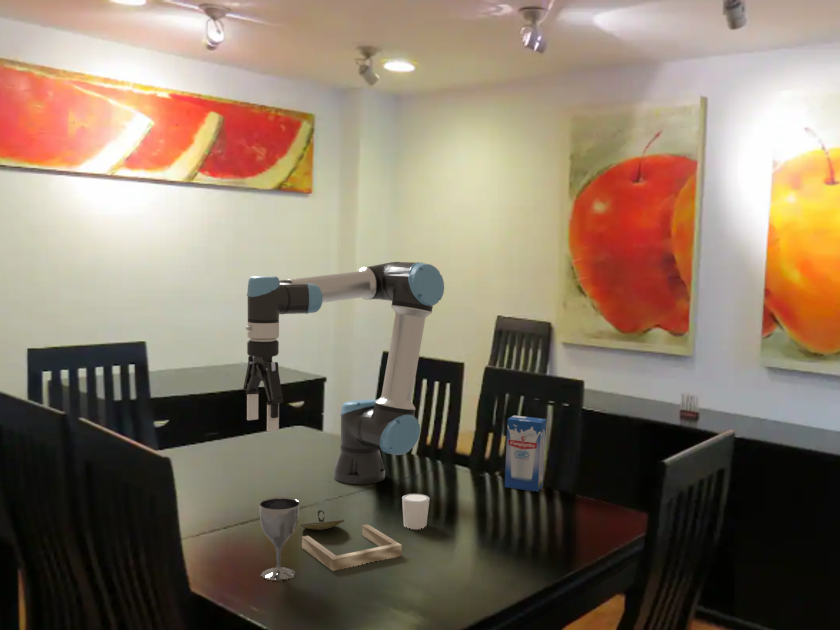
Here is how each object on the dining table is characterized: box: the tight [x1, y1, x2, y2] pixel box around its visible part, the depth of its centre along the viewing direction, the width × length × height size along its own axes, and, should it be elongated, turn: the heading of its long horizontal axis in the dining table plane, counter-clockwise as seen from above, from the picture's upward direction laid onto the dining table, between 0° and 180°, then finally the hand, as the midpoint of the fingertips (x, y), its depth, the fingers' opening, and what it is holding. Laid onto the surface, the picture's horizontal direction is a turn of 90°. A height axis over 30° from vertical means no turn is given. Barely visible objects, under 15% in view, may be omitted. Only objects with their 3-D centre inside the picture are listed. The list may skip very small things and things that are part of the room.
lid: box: [299, 509, 345, 531], centre depth 187 cm, size 11×10×5 cm
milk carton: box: [504, 415, 547, 493], centre depth 228 cm, size 10×6×20 cm, turn 68°
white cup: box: [401, 493, 431, 530], centre depth 193 cm, size 7×7×7 cm
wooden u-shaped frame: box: [301, 523, 403, 572], centre depth 175 cm, size 17×15×2 cm
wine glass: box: [259, 496, 300, 581], centre depth 161 cm, size 8×8×15 cm
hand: (262, 425), depth 194 cm, fingers open, 13 cm apart
